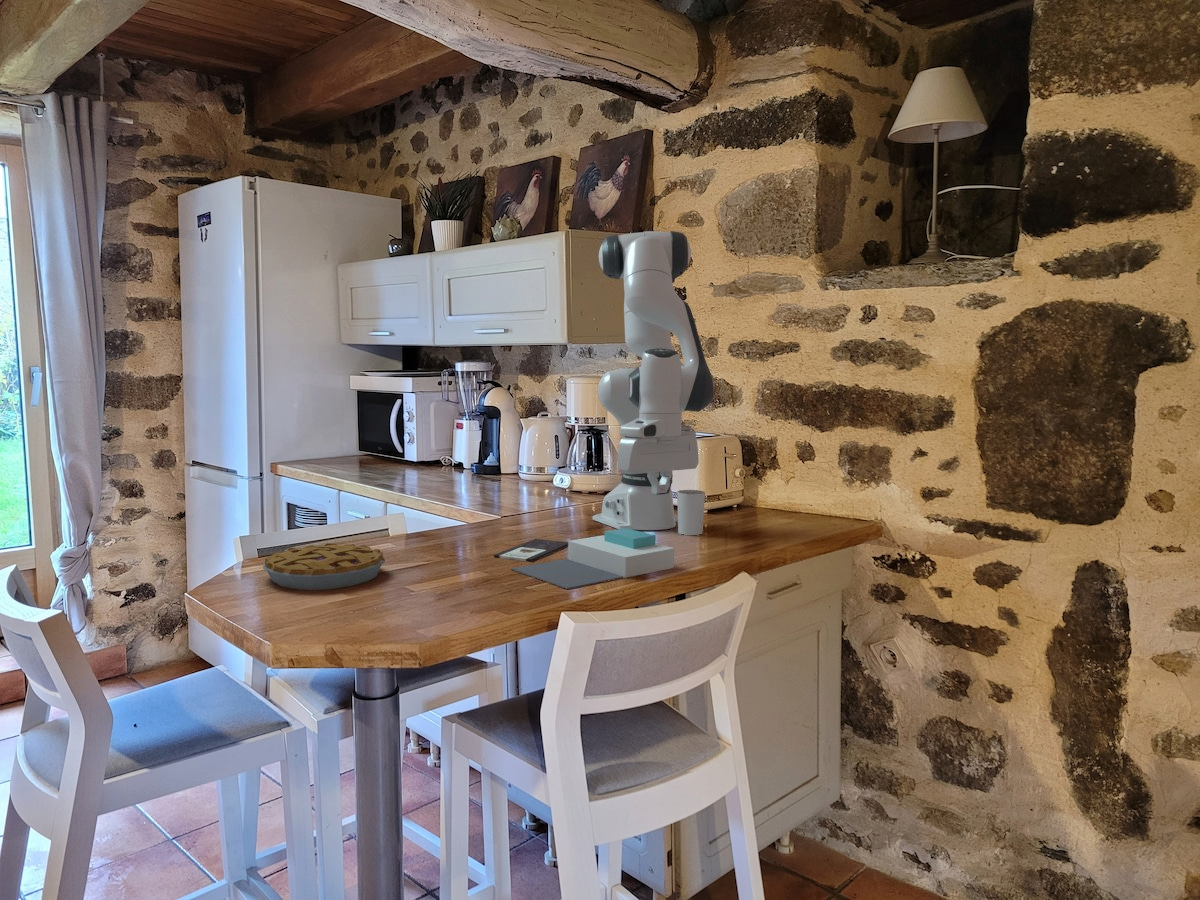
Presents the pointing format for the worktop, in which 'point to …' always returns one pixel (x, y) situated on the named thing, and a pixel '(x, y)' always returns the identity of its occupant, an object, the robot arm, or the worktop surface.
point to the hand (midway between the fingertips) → (659, 492)
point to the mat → (566, 573)
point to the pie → (324, 566)
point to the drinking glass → (690, 511)
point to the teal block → (629, 538)
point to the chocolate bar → (532, 550)
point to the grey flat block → (620, 556)
